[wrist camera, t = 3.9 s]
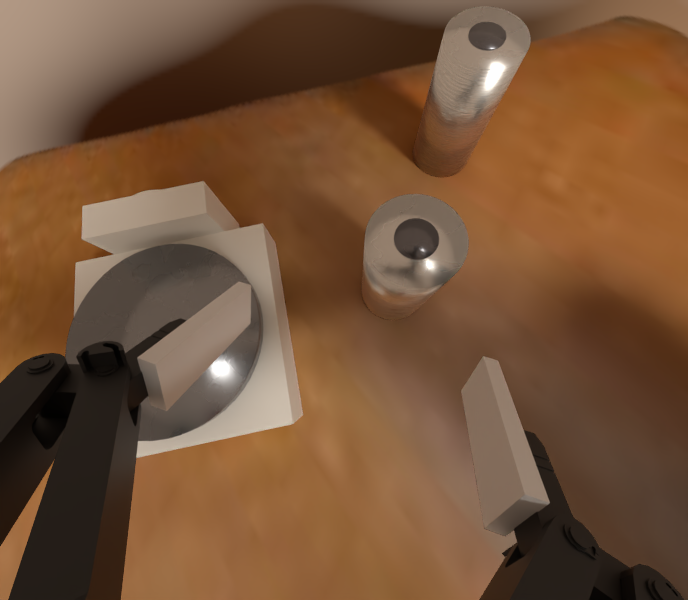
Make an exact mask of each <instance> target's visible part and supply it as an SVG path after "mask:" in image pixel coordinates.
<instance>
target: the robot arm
mask: <svg viewBox="0 0 688 600" xmlns="http://www.w3.org/2000/svg"><path fill="white" fill-rule="evenodd" d="M250 323H251V285H249V284H246V283H242V282H237V283H236V284H235V285H233V286H232V287H231V288H229V289H228V290H227V291H225V292H224V293H223V294H221V295H220V296H219V297H217V298H216V299H215V300H213V301H212V302H211V303H209V304H208V305H207V306H205V307H204V308H203V309H201V310H200V311H199V312H197V313H196V314H195V315H193V316H192V317H191V318H189V319H188V320H184V319H181V318H180V319H177V320H174V321H172V322H169V323H167V324H166V325H164V326H163V327H162V328H160V329H159V331H156V332H155V333H153V334H152V335H151V336H149V337H147V338H146V339H145V340H143V341H142V342H140V343H139V344H138V345H136V346H135V347H133V348H132V349H130V350H129V351H128V352H126V353H125V351H124V348H123V345H121V344H120V343H119V342H115V341H102V342H98V343H94V344H92V345H89V346H87V347H85V348H84V349H82V350H81V351H80V352H79V353H78V354H77V356H76V358H77V360H78V362H79V364H68V363H67V361H66V359H65V357H64V356H62V355H61V354H55V353H50V354H42V355H39V356H35V357H32V358H30V359H28V360H26V361H24V362H22V363H21V364H20V365H18V366H17V367H16V368H15V369H14V370H13V371H12V372H11V373H10V374H9V375H8V376H7V377H6V378H5V379H4V380H3V381H2V382H1V383H0V546H1V544H2V543H3V541H4V540H5V538H6V536H7V535H8V533H9V532H10V530H11V528H12V527H13V525H14V523H15V522H16V520H17V519H18V517H19V515H20V514H21V512H22V511H23V509H24V507H25V506H26V504H27V503H28V501H29V499H30V498H31V496H32V495H33V493H34V491H35V490H36V488H37V487H38V485H39V483H40V482H41V480H42V478H43V477H44V475H45V474H46V472H47V470H48V469H49V467H50V466H51V464H52V462H53V461H54V463H53V466H52V469H51V472H50V475H49V478H48V481H47V484H46V487H45V490H44V493H43V496H42V499H41V502H40V505H39V508H38V511H37V514H36V517H35V521H34V524H33V527H32V530H31V533H30V536H29V539H28V542H27V545H26V548H25V551H24V554H23V557H22V560H21V563H20V566H19V569H18V572H17V575H16V578H15V581H14V584H13V587H12V590H11V593H10V596H9V599H8V600H121V591H122V582H123V573H124V564H125V555H126V546H127V537H128V528H129V519H130V510H131V501H132V492H133V483H134V474H135V464H136V455H137V446H138V437H139V428H140V419H141V410H142V407H141V402H142V401H143V400H144V399H146V398H147V397H148V398H149V401H150V405H151V406H154V407H157V408H160V409H162V410H165V411H167V410H168V409H169V408H170V407H171V406H172V405H173V404H174V403H175V402H176V401H177V400H178V399H179V398H180V397H181V396H182V395H183V394H184V393H185V392H186V390H187V389H188V388H189V387H190V386H191V385H192V384H193V383H194V382H195V381H196V380H197V379H198V378H199V377H200V376H201V375H202V374H203V373H204V372H205V371H206V369H207V368H208V367H209V366H210V365H211V364H212V363H213V362H214V361H215V360H216V359H217V358H218V357H219V356H220V355H221V354H222V353H223V352H224V351H225V350H226V348H227V347H228V346H229V345H230V344H231V343H232V342H233V341H234V340H235V339H236V338H237V337H238V336H239V335H240V334H241V333H242V332H243V331H244V330H245V329H246V327H247V326H248V325H249V324H250ZM461 393H462V399H463V405H464V411H465V417H466V423H467V429H468V435H469V441H470V447H471V453H472V459H473V465H474V471H475V477H476V482H477V488H478V494H479V500H480V506H481V512H482V518H483V524H484V529H487V530H489V531H492V532H495V533H498V534H500V535H503V536H507V535H508V534H509V533H511V532H512V531H513V530H514V531H515V535H516V539H517V543H516V544H514V545H513V546H512V547H510V548H509V549H507V550H506V551H505V552H503V553H502V554H503V555H504V556H506V558H505V559H504V561H503V563H502V564H501V566H500V567H499V569H498V571H497V572H496V574H495V575H494V577H493V579H492V580H491V582H490V583H489V585H488V587H487V588H486V590H485V591H484V593H483V595H482V596H481V598H480V600H684V599H683V598H682V596H681V595H680V593H679V592H678V591H677V590H676V589H675V588H674V586H673V585H672V584H671V583H670V582H669V581H668V580H667V579H666V578H664V577H663V576H662V575H661V574H660V573H659V572H657V571H655V570H654V569H652V568H650V567H649V566H646V565H641V564H638V565H636V566H634V567H631V568H629V567H628V566H626V565H625V564H623V563H622V562H620V561H619V560H617V559H616V558H614V557H613V556H611V555H609V554H608V553H606V552H605V551H603V550H602V549H601V548H599V546H598V544H597V542H596V541H595V539H594V537H593V536H592V534H591V533H590V532H589V531H588V530H587V529H586V528H585V526H584V525H583V524H581V523H580V522H579V521H577V520H576V519H575V518H574V517H573V515H572V513H571V511H570V509H569V506H568V504H567V501H566V499H565V496H564V494H563V492H562V489H561V487H560V484H559V482H558V479H557V477H556V475H555V473H554V470H553V467H552V465H551V462H549V458H548V455H547V453H546V450H545V448H544V446H543V445H542V443H541V442H540V441H539V439H538V438H537V437H536V435H535V434H534V433H531V432H528V431H525V430H523V427H522V425H521V422H520V419H519V416H518V414H517V411H516V408H515V405H514V403H513V400H512V397H511V394H510V392H509V389H508V386H507V383H506V381H505V378H504V375H503V372H502V370H501V367H500V364H499V361H498V360H495V359H492V358H489V357H485V356H483V357H482V359H481V360H480V362H479V363H478V365H477V366H476V368H475V370H474V371H473V373H472V374H471V376H470V377H469V379H468V381H467V382H466V384H465V385H464V387H463V389H462V390H461ZM54 459H55V460H54Z"/></svg>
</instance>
